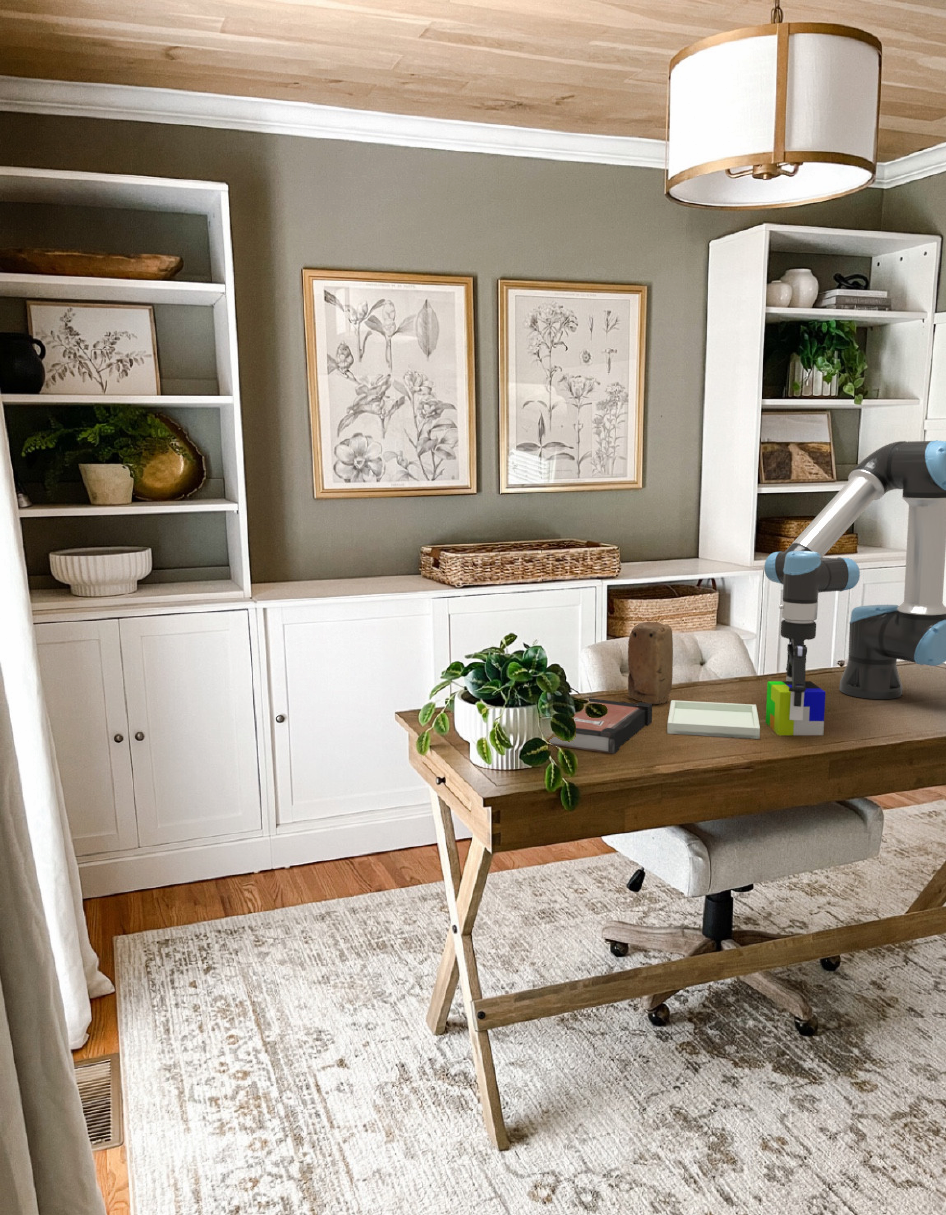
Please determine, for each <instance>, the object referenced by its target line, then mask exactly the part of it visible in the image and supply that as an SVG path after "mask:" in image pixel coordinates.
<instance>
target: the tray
mask: <svg viewBox="0 0 946 1215" xmlns="http://www.w3.org/2000/svg"><path fill="white" fill-rule="evenodd" d="M757 709H758V708H757V704H748V703H746V704H745V703H731V702H727V703H726V702H711V701H709V702H708V701H691V700H690V701H688V700H673V699H672V700H671V701H670V705H669V711H668V712H669V713H668V718H667V730H666V731H667V734H669V735H670V734H671V735H685V736H701V737H702V736H704V737H718V738H719V737H721V738H732V737H734V738H735V739H749V738H750V740H752V739H753V740H760V739H761V738H760V735H761V734H760V733H761V732H760V730H761V728H760V722H759V721H760V720H759V715H758V714H759V713H758V710H757Z"/></svg>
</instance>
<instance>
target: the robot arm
mask: <svg viewBox="0 0 946 1215" xmlns="http://www.w3.org/2000/svg"><path fill="white" fill-rule="evenodd" d="M847 479H848V481H847V482H846V483H845V485H844V486H842V488H841V489H840V490H839V491H838V492H837V493H836V494H835V496H834V497H833V498H832V499H831V500H830V501H829V502H828V503H827V504H826V505H825V507H824V508H823V509H822V510H821V511H820V512H819V513H818V514H817V515H816V516H815V518H814V519H812V521H810V523H809V524H808V526H806V527H805V529H804V530H803V531H802V532H801V533H800V534H799V535H798V537H796V539H795V540H794V541H793V542H792V543H791V544H790V546H789V547H787V549H786V550H784V551H775V552H772V553H770V554H769V555H768V556H767V557H766V559H765V562H764V567H763V568H764V574H765V576H766V578H767V579H768V580H769V581H771V582H773V583H777V584H780V585H782V604H780V605H779V606H778V608H779V609H780V610H781V618H782V620H781V622H780V636H781V637H782V638H785V639H788V641H789V643H787V646H786V647H787V650H786V651H787V661H786V668H785V671H786V677H785V678H786V680H785V681H792V688H791V687H789V691H791V701H790V720H801V721H803V705H804V691H805V690H806V687H805V681H806V673H807V672H806V668H807V667H806V664H807V654H808V647H807V645H806V644H805V641H806V640H808V641H809V640H814V639H815V638H816V635H817V622H816V620H817V619H818V607H819V601H818V600H819V593H820V594H821V593H828V592H844V591H848V590H851V589H854V588H855V587H856V586H857V584H858V583H859V581H860V576H861V570H860V568H859V565H858V564H857V562H856V561H855V560H853V559H852V558H849V557H841V556H840V557H839V556H838V557H836V558H833V557H825V555H826V554H827V553H828V552H829V550H830V549H831V548H833V546H834V545H835V544H836V543H837V542H838V540H839V539H840V538H841V537H842V536H843V535H844V534H845V532H846V531H847V530H848V529H849V528H850V527H851V526H852V524H854V522H855V521H856V520H857V519H858V518H859V517H860V516H861V514H863V512H864V511H865V510H866V509H867V508H868V507H869V506H870V504H872V502H873V501H878V500H880V499H881V498H882V497H884V495H885V494H886V493H888V492H890V491H894V490H902V499H903V500H904V501H905V502H906V503H907V505H908V516H907V517H908V519H907V535H906V536H907V537H906V551H905V552H906V553H905V554H906V555H905V556H906V557H905V574H904V575H905V576H904V596H903V602H902V603H901V604H899V605H898V604H871V605H870V604H869V605H860V606H855V607H854V608H853V609H852V610H851V613H850V620H849V633H848V634H849V635H848V636H849V637H848V639H849V640H848V657H847V658H848V660H847V663H846V666H845V669H844V671H843V672H842V676H841V678H840V680H839V691H840V692H841V693H843V694H845V695H848V696H850V697H855V698H861V699H870V700H891V699H897V698H900V697H902V696H903V684H902V680H901V677H900V674H899V670H898V665H897V660H900V661H905V662H910V663H914V664H917V665H920V666H924V665H925V666H930V667H932V666H933V667H937V666H940V665H942V664H944V663H946V605H944V584H945V583H944V582H945V568H946V567H945V566H946V441H945V440H921V441H919V440H918V441H917V440H915V441H910V440H909V441H906V440H902V441H900V440H899V441H894V442H890V443H888V444H885V445H883V446H882V447H880V448H877V449H876V450H875V451H873V452H872V453H871V454H869V455H868V456H867V457H865V458H864V459H862V460H861V461H860V462H859V463H858V464H857V466H855V468H854V469H853V470H851V472H850V473H849V474H848V476H847ZM800 685H801V686H800ZM901 695H902V696H901Z"/></svg>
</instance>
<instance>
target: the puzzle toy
mask: <svg viewBox="0 0 946 1215" xmlns="http://www.w3.org/2000/svg"><path fill="white" fill-rule="evenodd" d="M800 686H801V685H800ZM789 687H791V688H792V681H786V680H783V681H781V680H779V681H778V680H776V681H775V680H774V681H770V680H768V681H767V683H766V704H765V705H766V706H765V708H766V709H765V724H766V725H767V726H768V727H769V728H771V730H772V731H774V733H775V734H776V735H777V736H824V728H825V709H826V691H825V690H824V689H822V688H821V687H819V686H818V685H817V684H816V683H814V682H812V681H810V680H805V687H806V690H805V691H804V705H803V721H801V720H790V701H791V691H789Z"/></svg>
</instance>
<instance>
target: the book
mask: <svg viewBox="0 0 946 1215" xmlns="http://www.w3.org/2000/svg"><path fill="white" fill-rule="evenodd" d="M588 698H589V701H590V702H594V703H599V704H602V705H605V706H606V707H607V709H608V714H606V715H605V716H603V717H601V718H591V717H589V716H587V715H586V713H585V709H584V710H583V711H581V712H580V713H577V714H575V716H574V721H575V723H576V737H575V739H574V740H573V741H570V742H568V741H562V740H560V739H558V738H557V737H553V738H552V739H550V740H549V742H550V743H552V744H554V745H553V746H558V747H564V748H565V747H566V748H570V749H571V748H572V749H578V750H586V751H593V752H597V753H598V752H599V753H606V754H613V755H614V754H616V753H617V752H618V751H620V747H622V746H623V745H624V744H625V743H626V742H627V741H629V740H630V739H631V738H633V736H635V735H636V734H637V733H638V732H640V731H641V730H642V729H643V728H645V727H648V726H649V725H651V724H652V723H653V704H651V703H644V702H641V701H638V703H632V702H624V701H617V700H616V701H615V700H607V699H601V698H599V699H598V698H592V697H588Z"/></svg>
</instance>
